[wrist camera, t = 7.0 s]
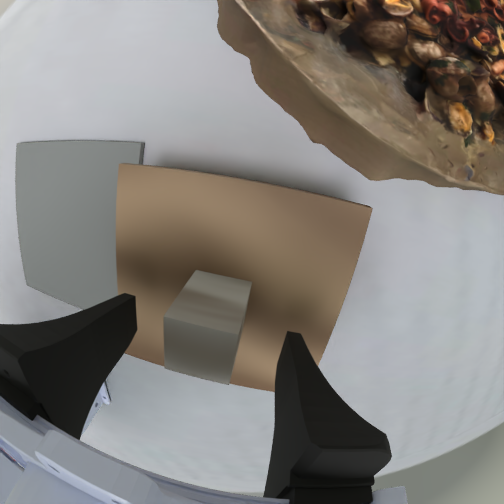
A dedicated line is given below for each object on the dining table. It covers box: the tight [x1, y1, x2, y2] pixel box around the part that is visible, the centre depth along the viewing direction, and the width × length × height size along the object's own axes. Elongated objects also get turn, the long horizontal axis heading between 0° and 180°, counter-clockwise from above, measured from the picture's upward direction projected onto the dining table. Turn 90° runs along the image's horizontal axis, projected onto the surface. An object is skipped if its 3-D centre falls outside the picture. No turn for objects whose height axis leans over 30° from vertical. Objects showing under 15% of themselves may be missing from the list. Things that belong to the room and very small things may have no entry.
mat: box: [15, 141, 144, 310], centre depth 20 cm, size 15×15×1 cm
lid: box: [116, 163, 372, 392], centre depth 13 cm, size 13×13×5 cm
